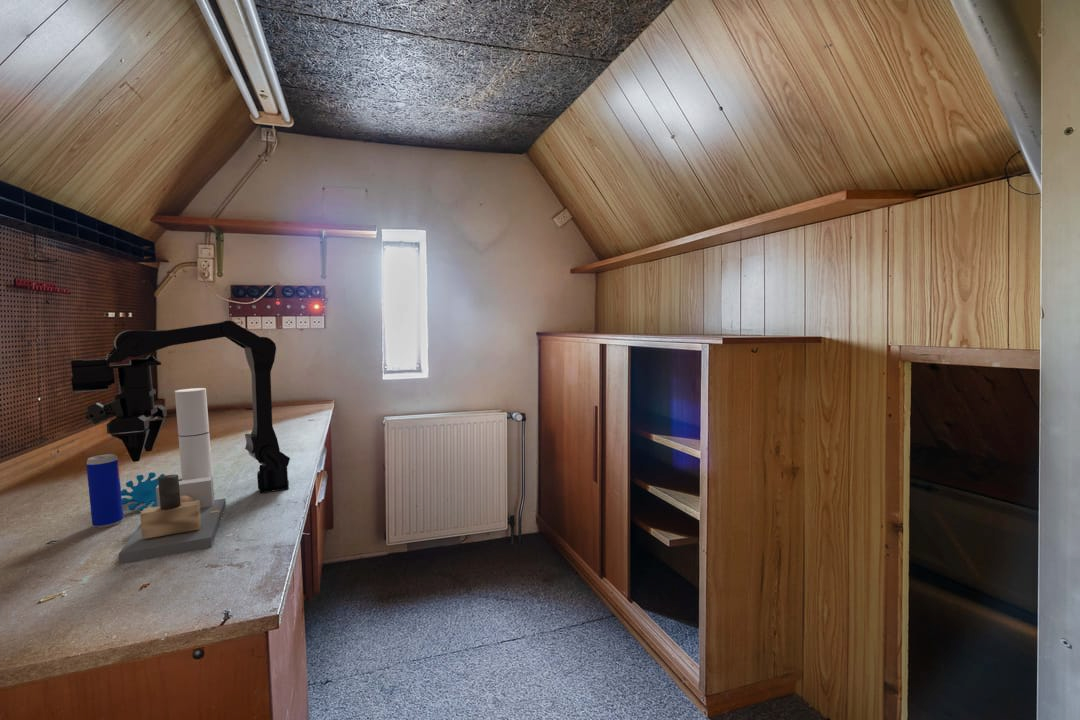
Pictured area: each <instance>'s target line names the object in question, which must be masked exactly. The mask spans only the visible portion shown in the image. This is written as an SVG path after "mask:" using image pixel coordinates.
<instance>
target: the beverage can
mask: <svg viewBox="0 0 1080 720" xmlns="http://www.w3.org/2000/svg"><path fill="white" fill-rule="evenodd" d="M85 465H86V474H87V485H88V486H87V487H88V495H89V505H90V515H91V525H92V526H93V527H95V528H96V527H104V528H108V527H107V526H109V527H112V526H111V525H113V526H115V525H114V524H116V525H118V524H120V523H121V522H122V521H123V520H124V508H123V505H122V497H123V496H121V491H122V487H121V478H120V466H119V458H118V456H117V454H115V453H108V454H107V453H105V454H100V455H99V454H98V455H94V456H90V457H88V458H87V461H86V464H85ZM119 522H120V523H119ZM117 523H118V524H117Z"/></svg>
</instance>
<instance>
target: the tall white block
mask: <svg viewBox="0 0 1080 720" xmlns="http://www.w3.org/2000/svg"><path fill="white" fill-rule="evenodd" d="M174 397H175V398H174V400H175V410H176V422H177V433H178V446H179V461H180V471H181V481H183V480H191V479H199V478H206V477H209V476H211V475H212V474H213V466H212V465H213V463H212V462H213V461H212V449H211V438H210V437H211V436H210V435H211V434H210V425H209V412H208V399H207V398H208V397H207V388H205V387H196V388H195V387H194V388H183V389H182V388H181V389H177V390H176V389H175V390H174ZM212 476H213V475H212ZM212 476H211V477H212Z"/></svg>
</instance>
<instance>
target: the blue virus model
mask: <svg viewBox="0 0 1080 720" xmlns="http://www.w3.org/2000/svg"><path fill="white" fill-rule="evenodd" d="M156 474H157V473H155V472H148V477H147V478H146V480H144V478H145V477H144V475H143V474H139V475H136V477H135V478H136V481H138V482H137V485H134V481H133V480H129V481H127V482H125V486H126V487H127V488H130V489H131V490H132V491H130V492H129V491H128V490H127V489H126V488H123V489H121V497H123V498H122V506H124V505H127V504H129V503H130V504H129V505H127V508H128V510H129V511H130V512H132V511H134V510H135V509H136V508H137V507H139V506H140V505H141V506H140V507H139V508H138V511H139V512H140V511H143V509H145V508H148V507H149V505H150V504H151V507H157V496H156V487H157V486H158V478H160V477H162V476H166V474H164V473H162V474H160V475H159V476H158V477H157V475H156ZM155 477H157V478H155ZM154 478H155V479H154ZM143 480H144V481H143ZM124 496H125V497H124ZM126 496H129V497H131V498H126ZM134 502H135V503H134ZM151 502H152V503H153V504H152V503H151Z"/></svg>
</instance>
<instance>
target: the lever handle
mask: <svg viewBox="0 0 1080 720" xmlns="http://www.w3.org/2000/svg"><path fill="white" fill-rule="evenodd" d="M157 478H158V477H157ZM179 481H180V480H179V474H165V476H162V477H160V478H158V485H159V497H160V506H158V507H152V506H151V507H147V508H145V509H143V511H142V512H140V513H139V516H140V517H139V518H140V519H139V520H140V525H141V531H142V539H146V538H152V537H158V536H164V535H169V534H175V533H181V532H187V531H192V530H198V529H199V528H200V526H201V514H200V501H199V500H198V501H191V502H184V503H181V502H180V490H179Z"/></svg>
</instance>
